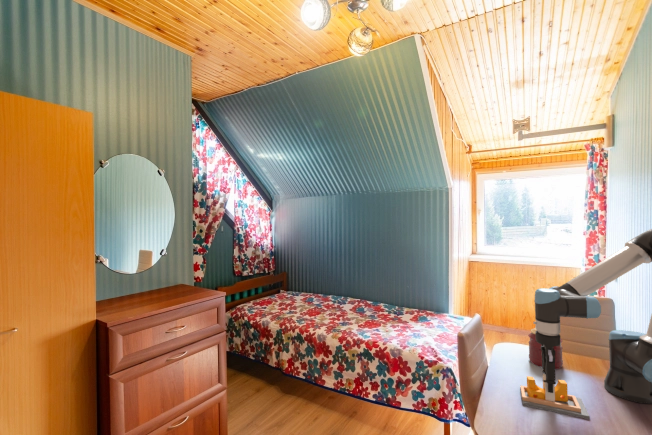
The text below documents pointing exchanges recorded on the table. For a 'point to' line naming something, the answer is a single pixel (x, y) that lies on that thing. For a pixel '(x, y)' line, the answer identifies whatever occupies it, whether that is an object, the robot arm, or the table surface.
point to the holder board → (556, 404)
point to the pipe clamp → (539, 393)
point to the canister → (536, 352)
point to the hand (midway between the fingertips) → (548, 396)
